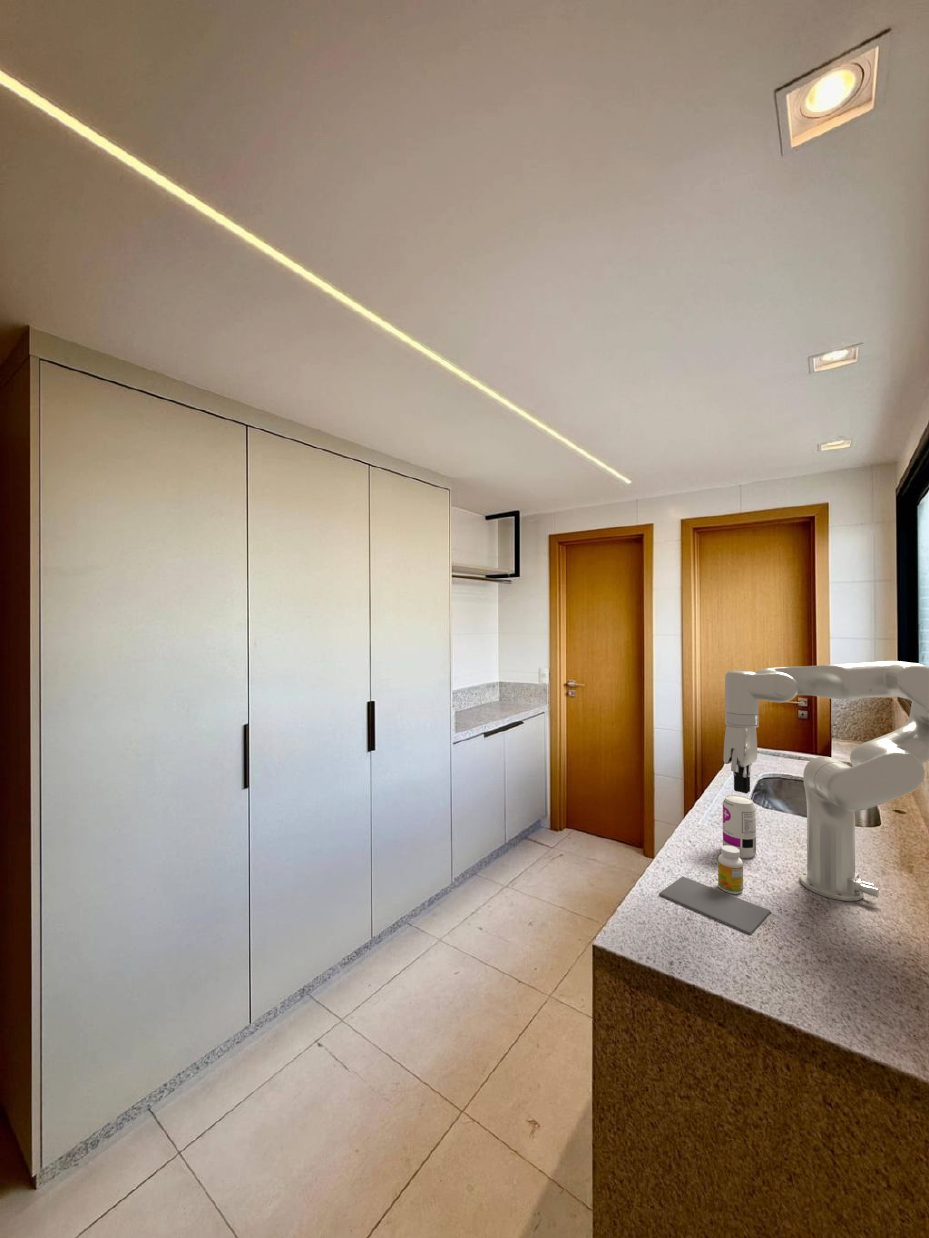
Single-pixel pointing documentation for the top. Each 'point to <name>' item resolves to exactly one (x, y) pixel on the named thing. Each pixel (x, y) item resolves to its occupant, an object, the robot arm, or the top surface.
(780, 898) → the top surface
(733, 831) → the supplement can
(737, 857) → the supplement bottle
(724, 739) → the robot arm
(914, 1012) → the top surface
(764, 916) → the mat
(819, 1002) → the top surface
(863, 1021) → the top surface
